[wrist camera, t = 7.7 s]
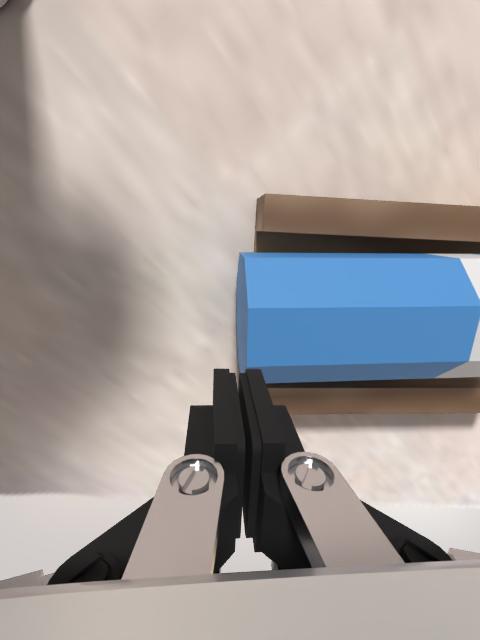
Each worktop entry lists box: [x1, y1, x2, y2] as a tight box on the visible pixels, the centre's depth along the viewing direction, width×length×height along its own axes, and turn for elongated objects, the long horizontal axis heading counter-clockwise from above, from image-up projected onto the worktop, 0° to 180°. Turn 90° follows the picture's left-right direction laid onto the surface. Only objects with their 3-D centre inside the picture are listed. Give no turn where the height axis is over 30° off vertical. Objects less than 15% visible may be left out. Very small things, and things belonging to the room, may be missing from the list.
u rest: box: [254, 194, 480, 414], centre depth 26 cm, size 17×24×4 cm
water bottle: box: [236, 253, 480, 383], centre depth 23 cm, size 9×9×25 cm
